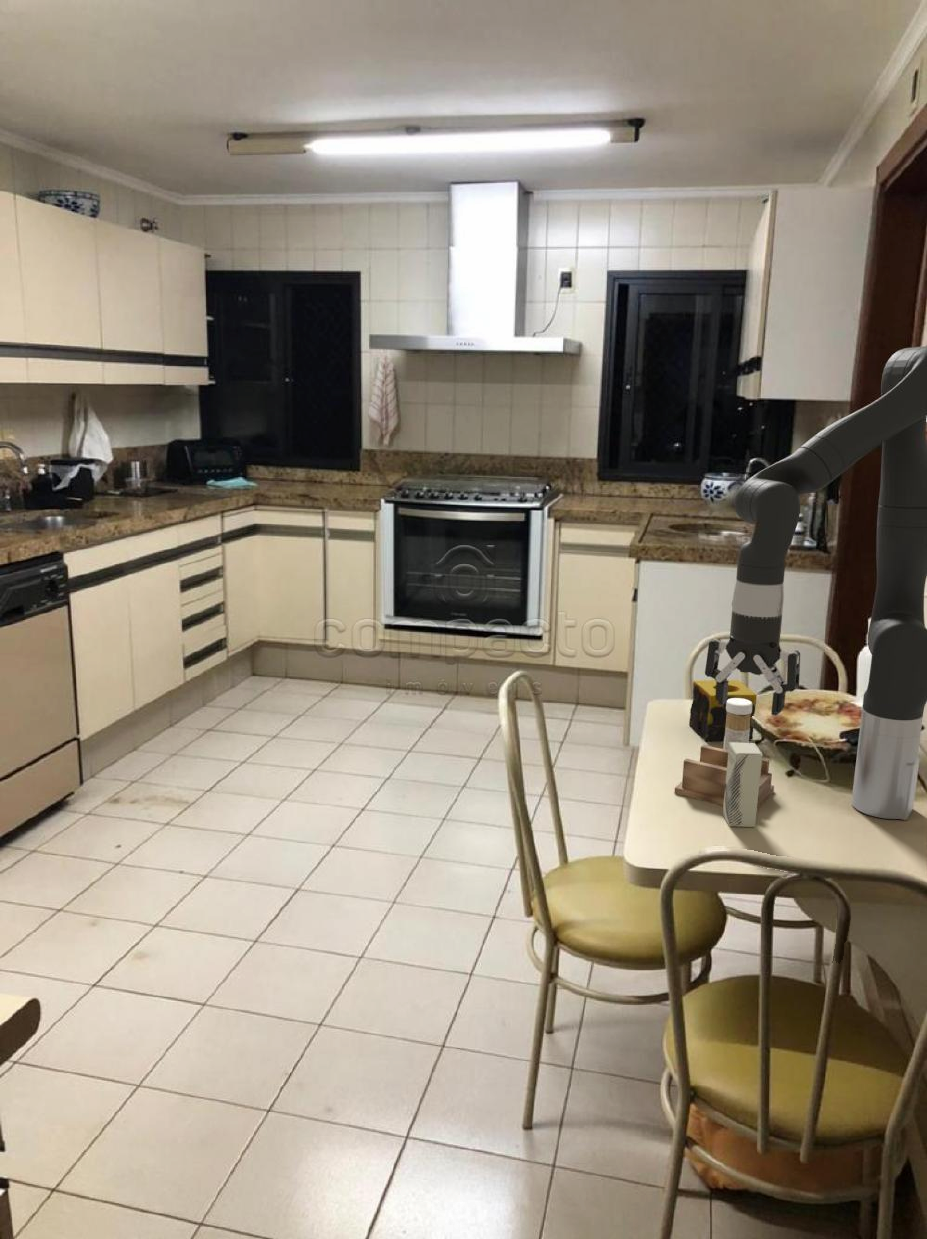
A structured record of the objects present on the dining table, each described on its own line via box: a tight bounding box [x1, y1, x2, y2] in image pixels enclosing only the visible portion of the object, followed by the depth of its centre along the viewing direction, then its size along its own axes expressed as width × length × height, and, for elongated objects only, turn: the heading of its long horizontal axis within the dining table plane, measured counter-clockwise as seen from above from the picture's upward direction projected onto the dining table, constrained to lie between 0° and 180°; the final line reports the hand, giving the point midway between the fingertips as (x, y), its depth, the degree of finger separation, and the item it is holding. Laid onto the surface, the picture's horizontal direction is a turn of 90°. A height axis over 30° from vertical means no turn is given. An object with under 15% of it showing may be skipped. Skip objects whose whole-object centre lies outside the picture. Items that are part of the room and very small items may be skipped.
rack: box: [673, 744, 775, 810], centre depth 168 cm, size 14×11×6 cm
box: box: [722, 742, 763, 828], centre depth 156 cm, size 5×4×13 cm
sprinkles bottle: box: [722, 698, 752, 750], centre depth 177 cm, size 5×5×14 cm
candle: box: [688, 679, 758, 742], centre depth 197 cm, size 10×10×10 cm
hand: (748, 708), depth 153 cm, fingers open, 8 cm apart
